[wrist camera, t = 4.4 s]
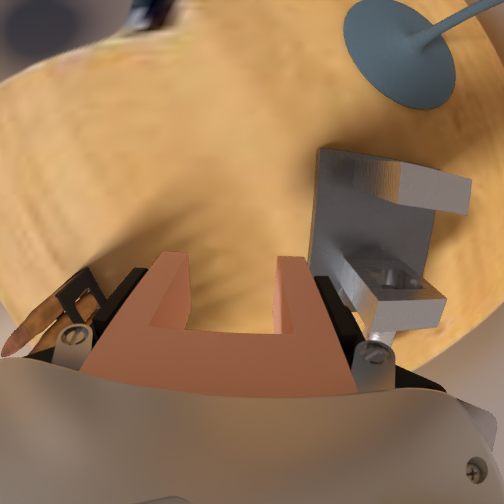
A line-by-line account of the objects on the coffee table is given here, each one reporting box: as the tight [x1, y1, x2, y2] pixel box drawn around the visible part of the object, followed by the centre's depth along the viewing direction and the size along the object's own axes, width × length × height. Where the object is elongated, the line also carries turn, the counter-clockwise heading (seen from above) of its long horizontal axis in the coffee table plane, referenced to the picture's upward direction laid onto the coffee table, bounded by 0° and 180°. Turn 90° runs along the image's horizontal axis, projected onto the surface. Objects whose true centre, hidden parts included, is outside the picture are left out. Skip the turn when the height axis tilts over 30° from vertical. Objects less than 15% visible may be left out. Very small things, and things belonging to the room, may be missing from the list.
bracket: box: [307, 148, 472, 333], centre depth 16 cm, size 12×10×8 cm
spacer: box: [79, 251, 358, 397], centre depth 9 cm, size 3×6×8 cm, turn 87°
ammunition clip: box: [1, 267, 107, 357], centre depth 17 cm, size 11×2×12 cm, turn 23°
